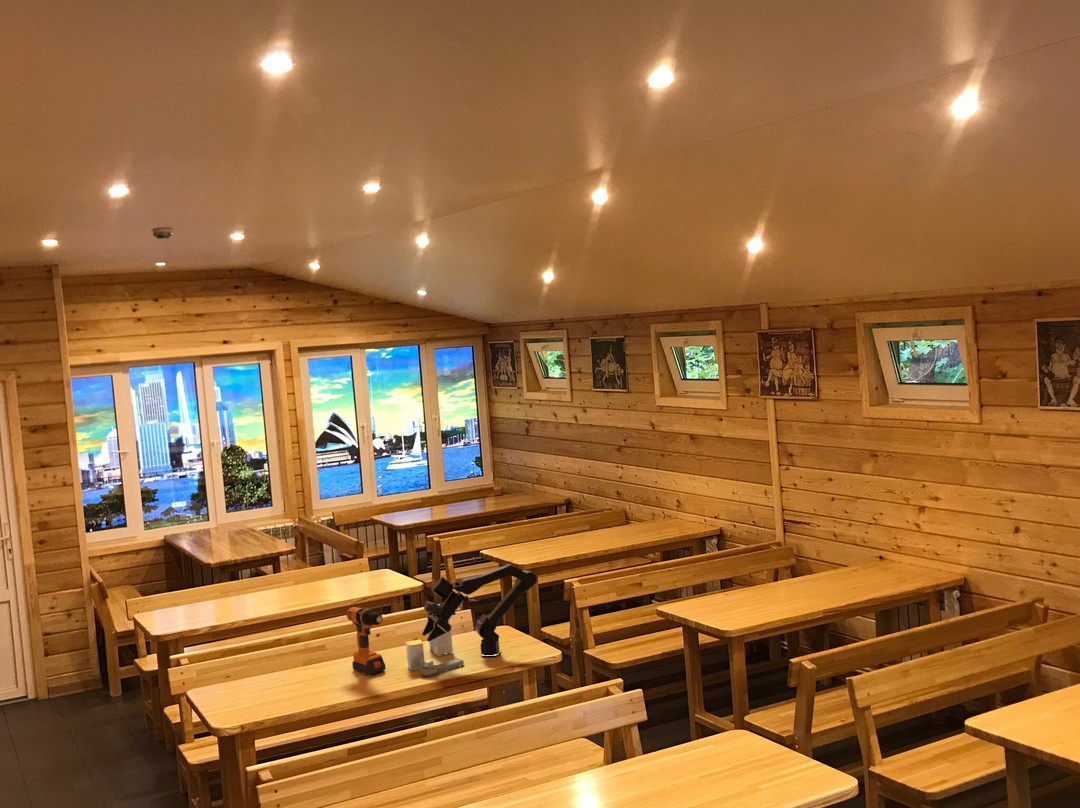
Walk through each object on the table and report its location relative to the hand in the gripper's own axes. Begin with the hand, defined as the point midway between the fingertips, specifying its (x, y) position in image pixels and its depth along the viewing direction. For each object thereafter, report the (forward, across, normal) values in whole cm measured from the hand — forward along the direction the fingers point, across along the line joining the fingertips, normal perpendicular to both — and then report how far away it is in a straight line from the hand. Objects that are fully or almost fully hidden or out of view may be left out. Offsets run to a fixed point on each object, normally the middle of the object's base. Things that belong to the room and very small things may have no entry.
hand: (425, 638), depth 398 cm
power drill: (+23, -5, -7) cm, 24 cm away
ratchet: (+5, +9, +10) cm, 15 cm away
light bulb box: (+2, -16, +14) cm, 22 cm away
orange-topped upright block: (+11, 0, +5) cm, 12 cm away
